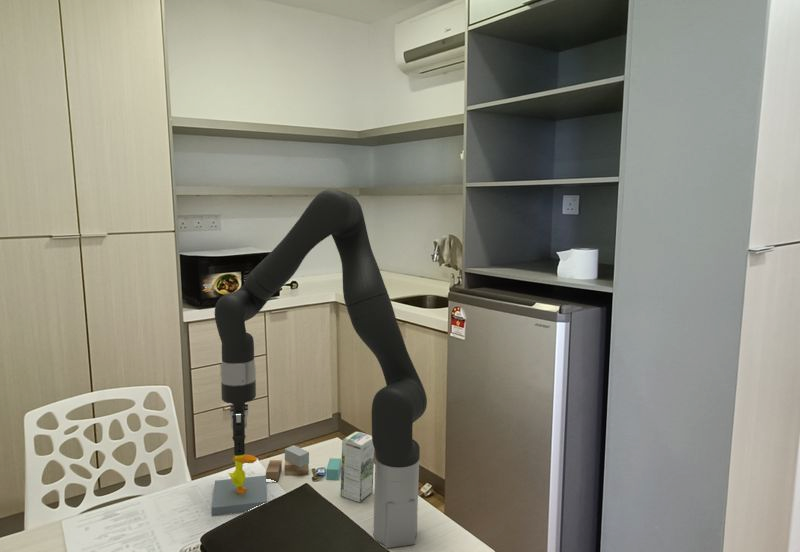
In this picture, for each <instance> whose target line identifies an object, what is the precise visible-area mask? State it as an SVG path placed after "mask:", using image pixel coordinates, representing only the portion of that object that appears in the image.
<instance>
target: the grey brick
mask: <svg viewBox="0 0 800 552" xmlns="http://www.w3.org/2000/svg"><path fill="white" fill-rule="evenodd" d="M285 460H286V461H288V462H290V463H292V464H294V465H296V466H298V467H302V466H304V465H306V464H308V463H309V464H310V451H308V450H305V449H303V448H301V447H299V446H296V445H294V444H293V445H291V446H288V447H286V448H284V461H285Z"/></svg>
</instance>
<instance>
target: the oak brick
mask: <svg viewBox="0 0 800 552" xmlns="http://www.w3.org/2000/svg"><path fill="white" fill-rule="evenodd" d="M309 464H310V462H309V463H308V464H306V465H304V466H302V467H298V466H296V465H294V464H292V463H290V462H288V461H286V460H285V459H284V466H283V467H284V468H283V469H284V476H285V477H287V476H304V475H305V476H307V475H309Z"/></svg>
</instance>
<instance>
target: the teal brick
mask: <svg viewBox="0 0 800 552" xmlns="http://www.w3.org/2000/svg"><path fill="white" fill-rule="evenodd" d="M341 462H342V458H337V457H335V458H334V457H333V458H332V457H329V460H328V463H327V466H326V469H325V470H326V475H325V476H326V478H325V480H327V481H339V477H340V476H341Z"/></svg>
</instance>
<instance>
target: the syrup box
mask: <svg viewBox="0 0 800 552" xmlns="http://www.w3.org/2000/svg"><path fill="white" fill-rule="evenodd" d="M374 466H375V448H374V446H373V442H372V435H371V434H367V433H366V432H365V433H364V432H362V431H354V432H353V433H351V434H350V435H348V436H346V437H345V438H343V439H342V441H341V471H340V493H339V495H340V496H341V497H342V498H344V499H345V498H346V499H348V500H352V501H354V502H357V503H361V502H362V501H364V500H365V499H366V498H367V497H368V496H370V495H371V494H372V493H374V492H373V489H374V470H375V467H374Z"/></svg>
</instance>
